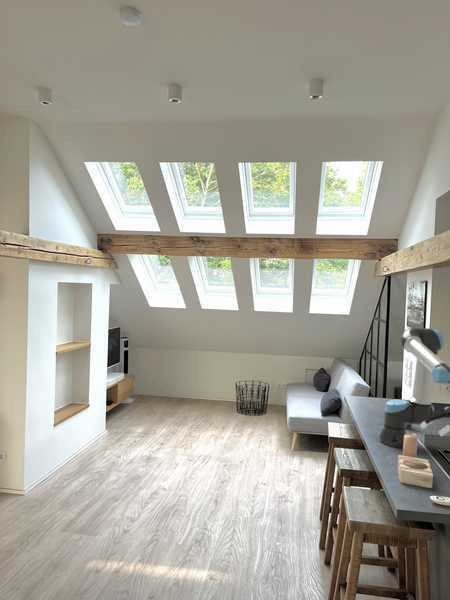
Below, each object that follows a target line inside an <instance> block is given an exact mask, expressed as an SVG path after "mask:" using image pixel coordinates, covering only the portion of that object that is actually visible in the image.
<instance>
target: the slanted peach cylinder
mask: <svg viewBox="0 0 450 600" xmlns="http://www.w3.org/2000/svg"><path fill="white" fill-rule="evenodd" d="M418 439H419V437H418V435H415V434H410V433H406V434H405V435H404V443H403V447H402V454H401V456H407V457H413V458H417V453H418V452H417V451H418V444H419V443H418V441H419V440H418Z"/></svg>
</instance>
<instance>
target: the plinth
mask: <svg viewBox="0 0 450 600" xmlns="http://www.w3.org/2000/svg"><path fill="white" fill-rule="evenodd" d="M397 472H398V481H399V483H403V484H407V485H413V486H418V487H423V488H427V489H429V488H430V489H433V482H434V474H433V471H432V468H431V465H430V462H429V460H428V459H423V458H419V457H416V458H413V457H407V456H402V454H401V455H399V454H398V457H397Z"/></svg>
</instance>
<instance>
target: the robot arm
mask: <svg viewBox="0 0 450 600" xmlns="http://www.w3.org/2000/svg"><path fill="white" fill-rule="evenodd" d="M399 341H400V345H401V346H402V348H403V350H405V351H406V352H407V353H411V354H412V355H413V356H414V357H415V358H416V361H415V362H416V364H415V371H414V381H413V389H412V396H411V397H409V398H408V401H407V400H404V399H390V400H387V401H386V403H385V405H384V417H383V428H382V429H381V432H380V434H379V437H378V438H379V439H378V441H379V442H380V443H381V444H384V445H386V446H390V447H395V448H403V443H404V435H405V434H407V428H406V425H412V426H416V425H418V426H420V427H421V429H422V430H425V429H426V428H427V427H428V426H430V425H431V424H432V423H434V421H436V420H441V419H445V418H447V419H448V418H450V407H449V405H447V404H446V405H445V406H443V407H441V408H439V409H436V410H435V407H434V406H433V404H432V402H431V400H430V395H431V393H430V391H431V385H432V380H433V382H434V383H437V384H443V385H446V384H447V385H448V384H449V385H450V366H449V365H448V364H446V363H445V361H444V360H442V359H441V358H439V356H438V355H439V352H440V351H441V350H442V349H443V348H444V345H445V340H444V336H443V334H442V332H441V331H439V330H438V329H434V328H428V327H427V328H425V327H424V328H422V327H420V328H419V327H409V328H406V329H405V330H404V331H403V332H402V333H401V335H400V338H399ZM448 433H450V423H449V424H447V425H445V427H443V428H441V429H440V430H439V431H438V434H439V436H440V437H441V438H442V437H444V436H445V435H446V434H448Z"/></svg>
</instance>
